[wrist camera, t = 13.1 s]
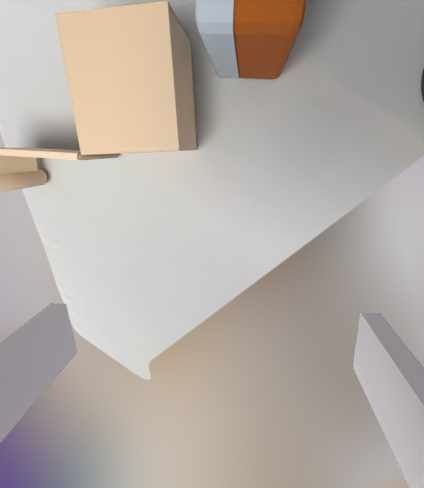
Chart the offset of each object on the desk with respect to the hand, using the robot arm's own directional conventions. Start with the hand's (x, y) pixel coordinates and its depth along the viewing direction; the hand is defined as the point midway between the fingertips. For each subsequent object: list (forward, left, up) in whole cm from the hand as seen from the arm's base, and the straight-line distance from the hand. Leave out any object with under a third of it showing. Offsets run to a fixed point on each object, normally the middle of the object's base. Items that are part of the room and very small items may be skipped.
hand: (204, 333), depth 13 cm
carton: (+12, -15, -35) cm, 39 cm away
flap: (+26, -6, -33) cm, 43 cm away
